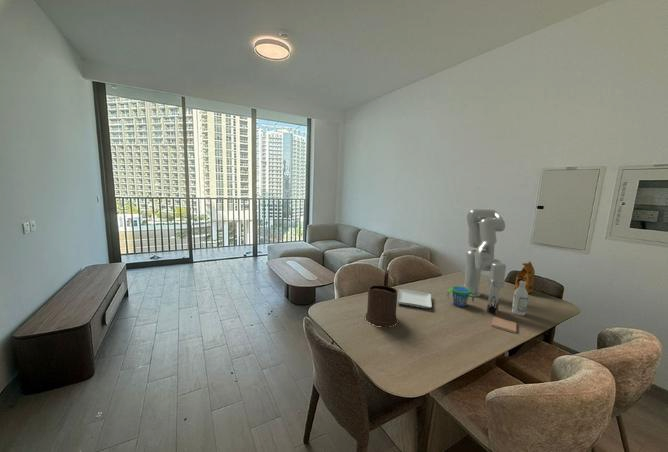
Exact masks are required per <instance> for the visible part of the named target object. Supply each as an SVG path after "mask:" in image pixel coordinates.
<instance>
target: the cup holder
mask: <svg viewBox="0 0 668 452" xmlns="http://www.w3.org/2000/svg"><path fill="white" fill-rule="evenodd" d="M389 273H390V270H389V269H385V271H384V280H383V285H379V284H378V285H370V286H369V287H368V289H367V290H368V291H367V293H368V294H367V309H366V310H367V311H366V313H365V315H366V316H365V315H364V318H365V317H366V320H367V321H368V322H370V323H371V324H374V325H376V326H381V327H390V326H393V325H395V324H396V323H397V320H398V318H397V306H398V305H397V304H398V302H397V297H398V290H397V289H396V288H394V287H391V286H389ZM366 320H365V321H366ZM397 324H398V323H397ZM395 326H396V325H395ZM393 327H394V326H393ZM390 328H391V327H390Z"/></svg>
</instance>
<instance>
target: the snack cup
mask: <svg viewBox="0 0 668 452" xmlns="http://www.w3.org/2000/svg"><path fill="white" fill-rule="evenodd" d="M451 291H452V303H453V305H455V306H457V307H463V308H464V307H465V306H466V305H467V303H468V299H469V297H470V296H469V295H470V293H472V292H471V291H470V290H469V289H467V288H464V287H458V286H457V285H456V286H452V287H451V288H450V289H448V290H447V293H446V295H447V297H446V298H448V299H449V295H450V292H451ZM472 295H473V296H472V297H471V298H472V299H471V301H472V302H474V300H475V297H474V294H473V293H472Z"/></svg>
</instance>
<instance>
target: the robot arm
mask: <svg viewBox="0 0 668 452" xmlns="http://www.w3.org/2000/svg"><path fill="white" fill-rule="evenodd" d="M466 221H467V226H468V246H469V247H470V248H473V249H470V250H466V252H465V272H464V281H463V284H456V286H458V287H464V288H467V289H469V290H470V291H471V292H472V293H473V294H474V298H476V297H480V296H481V292H480V291H479V290H480V283H481V281H480V280H481V274H482V272H489V279H488V285H489V292H488V299H487V303H488V302H491V303H490V307H489V313H488V314H490V313H492V314H491V315H493V314H495V312H496V304H497V303H498V304H499V298H500V294H501V289H503V288H504V284H505V278H506V277H505V276H506V268H507V266H506V264H505V263H503V262H502V261H500V260H499V259H495V245H496V244H497V242H498V241H497V232H498V233H499V232H503V231H505V228H506V223H505V220H504V219H503V217H502V216H501V215H500V214H499V212H498V211H496V210H495V209H494V210H493V209H480V208H477V209H471V210H469V211H468V212H467V215H466ZM472 293H470V295H469V297H473V295H472Z"/></svg>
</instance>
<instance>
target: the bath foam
mask: <svg viewBox="0 0 668 452" xmlns="http://www.w3.org/2000/svg"><path fill="white" fill-rule="evenodd" d="M525 286H526V282H524V281H520V284H519V287H518V288H517V289H516V290H515V289H514V292H513V299H512V306H511V312H512V314H515V315H517V316H525V315H526V314H527V313H526V312H527V306H528V300H529V293H528V292H527V290H526V289H525Z"/></svg>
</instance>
